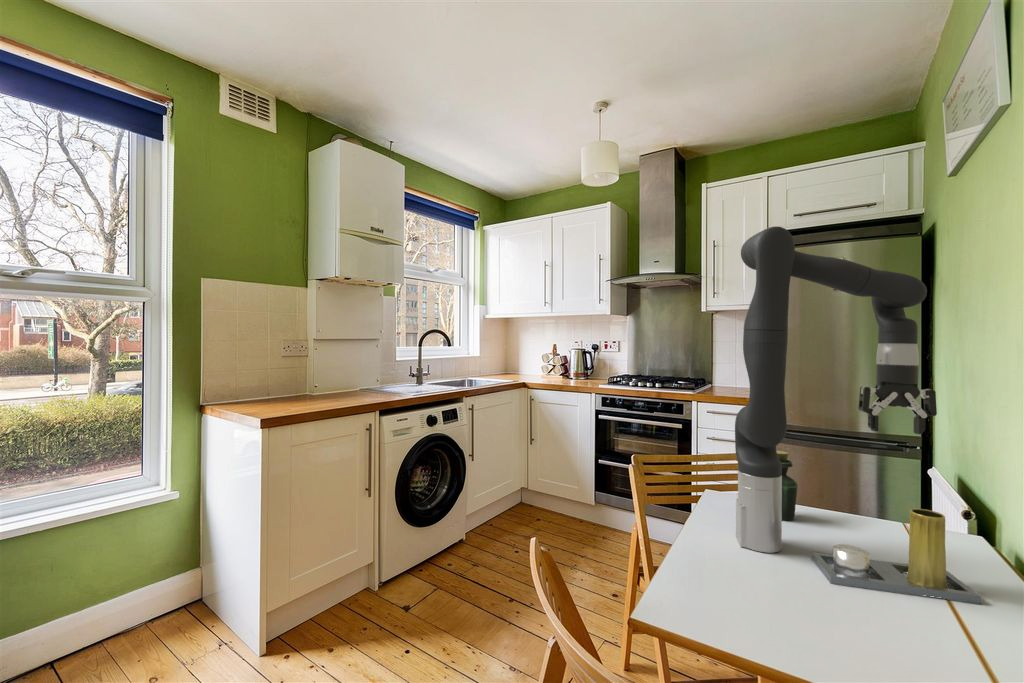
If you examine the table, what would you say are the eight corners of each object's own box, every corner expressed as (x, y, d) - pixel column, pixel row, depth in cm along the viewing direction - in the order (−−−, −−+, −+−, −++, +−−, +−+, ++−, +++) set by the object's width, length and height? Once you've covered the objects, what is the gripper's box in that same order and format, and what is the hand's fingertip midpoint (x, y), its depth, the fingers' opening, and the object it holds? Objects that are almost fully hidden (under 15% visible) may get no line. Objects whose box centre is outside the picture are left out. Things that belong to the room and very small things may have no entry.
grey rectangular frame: (830, 583, 90) (830, 558, 90) (811, 558, 100) (811, 536, 101) (981, 604, 83) (981, 577, 83) (943, 575, 94) (943, 551, 94)
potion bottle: (758, 515, 127) (758, 451, 127) (771, 509, 131) (771, 447, 132) (790, 524, 120) (790, 457, 120) (802, 518, 125) (802, 453, 125)
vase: (950, 585, 90) (950, 514, 90) (945, 596, 86) (945, 521, 86) (910, 573, 94) (910, 505, 94) (903, 582, 90) (903, 511, 91)
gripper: (868, 362, 104) (867, 432, 104) (944, 364, 100) (943, 437, 100) (854, 361, 111) (853, 427, 111) (924, 363, 107) (923, 431, 107)
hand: (896, 432), depth 105 cm, fingers open, 8 cm apart
